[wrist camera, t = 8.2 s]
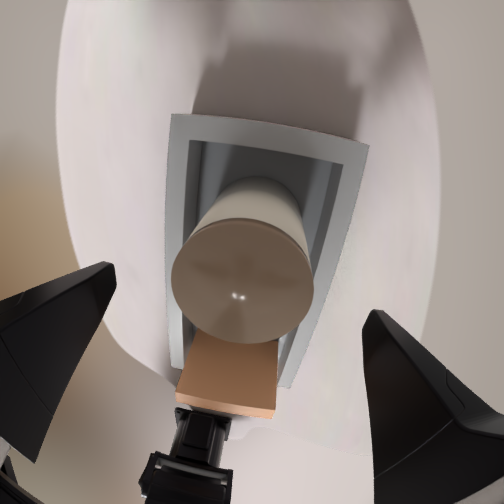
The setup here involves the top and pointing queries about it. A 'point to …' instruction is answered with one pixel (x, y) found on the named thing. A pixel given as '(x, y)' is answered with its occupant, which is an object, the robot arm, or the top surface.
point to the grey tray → (270, 166)
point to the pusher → (230, 376)
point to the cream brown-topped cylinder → (246, 265)
